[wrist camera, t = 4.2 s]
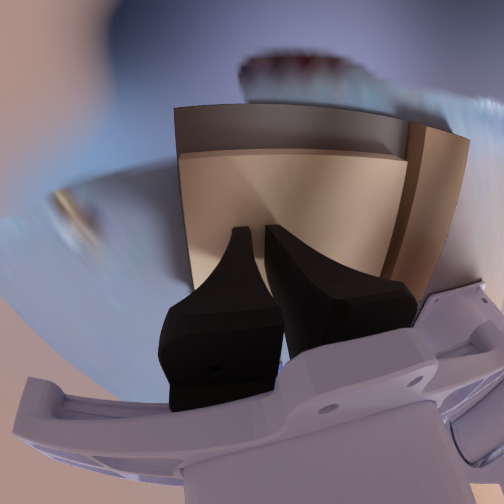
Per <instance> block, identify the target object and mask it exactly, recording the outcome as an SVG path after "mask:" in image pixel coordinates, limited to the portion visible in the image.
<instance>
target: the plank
mask: <svg viewBox="0 0 504 504" xmlns="http://www.w3.org/2000/svg"><path fill="white" fill-rule="evenodd" d="M407 163H408V162H407V161H405V160H403V159H401V158H399V157H397V156H395V155H388V154H379V153H369V152H357V151H343V150H324V149H239V150H220V151H205V152H193V153H182V154H181V155H180V158H179V170H180V181H181V191H182V200H183V209H184V218H185V226H186V234H187V241H188V248H189V255H190V262H191V269H192V275H193V282H194V288H195V290H196V289H197V288H198V287H199V286H200V285H201V284H202V283H203V282H204V281H205V280H206V279H207V278H208V276H209V275H210V274H211V273H212V272H213V270H214V269H215V267H216V266H217V264H218V263H219V261H220V260H221V258H222V256H223V254H224V252H225V250H226V248H227V246H228V243H229V241H230V238H231V234H232V229H233V228H234V227H241V226H248V227H249V228H250V230H251V235H252V243H253V252H254V258H255V261H256V264H257V266H258V269H259V272H260V274H261V276H262V279H263V281H264V283H265V285H266V287H267V288H268V290H269V292H270V294H271V295H272V293H271V290H270V287H269V284H268V281H267V276H266V271H265V266H264V249H265V225H276V224H279V225H281V226H282V227H284V228H285V229H286V230H288V231H289V232H290V233H292V234H293V235H294V236H296V237H297V238H298V239H300V240H301V241H303V242H304V243H305V244H307V245H308V246H310V247H311V248H313V249H315V250H316V251H318V252H319V253H321V254H323V255H325V256H326V257H328V258H330V259H332V260H334V261H336V262H338V263H340V264H343V265H345V266H347V267H350V268H352V269H355V270H358V271H360V272H363V273H366V274H370V275H373V276H376V277H380V274H381V271H382V267H383V264H384V261H385V258H386V254H387V251H388V247H389V244H390V240H391V237H392V233H393V229H394V225H395V221H396V217H397V213H398V209H399V204H400V200H401V195H402V190H403V185H404V180H405V175H406V169H407ZM272 297H273V296H272Z"/></svg>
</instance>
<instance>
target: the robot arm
mask: <svg viewBox="0 0 504 504" xmlns="http://www.w3.org/2000/svg"><path fill="white" fill-rule="evenodd" d="M264 266H265V271H266V276H267V281H268V284H269V287H270V290H271V293H272V295H271V294H270V292H269V290H268V288H267V287H266V285H265V283H264V281H263V279H262V276H261V274H260V272H259V269H258V266H257V264H256V261H255V258H254V252H253V243H252V235H251V230H250V228H249V227H248V226H241V227H234V228H233V229H232V234H231V238H230V241H229V243H228V246H227V248H226V250H225V252H224V254H223V256H222V258H221V260H220V261H219V263H218V264H217V266H216V267H215V269H214V270H213V272H212V273H211V274H210V275H209V276H208V278H207V279H206V280H205V281H204V282H203V283H202V284H201V285H200V286H199V287H198V288H197V289H196V290H195V291H194V292H193V293H191V294H190V295H189V296H187V297H186V298H185V299H183V300H182V301H180V302H178V303H177V304H175V305H174V306H172V307H170V309H169V311H168V313H167V315H166V318H165V321H164V324H163V327H162V330H161V334H160V340H159V348H158V358H159V362H160V365H161V367H162V369H163V371H164V373H165V376H166V378H167V380H168V382H169V384H170V392H169V403H139V402H124V401H111V400H101V399H94V398H86V397H79V396H73V395H67V394H65V393H64V392H63V391H62V389H61V388H60V387H59V386H57V385H56V384H55V383H53V382H51V381H48V380H43V379H38V378H33V377H28V379H27V382H26V385H25V388H24V391H23V394H22V397H21V400H20V404H19V407H18V411H17V414H16V418H15V422H14V426H13V431H12V433H13V435H14V436H16V437H17V438H19V439H20V440H22V441H23V442H25V443H26V444H28V445H29V446H31V447H32V448H34V449H35V450H37V451H39V452H40V453H42V454H44V455H45V456H47V457H49V458H51V459H52V460H55V461H58V462H62V463H65V464H68V465H71V466H74V467H78V468H81V469H85V470H89V471H92V472H96V473H100V474H105V475H108V476H113V477H117V478H123V479H127V480H133V481H139V482H145V483H151V484H159V485H168V486H179V487H184V493H185V504H476V501H475V498H474V495H473V492H472V490H471V487H470V484H469V483H476V484H493V483H494V484H500V486H501V489H502V492H503V494H504V315H503V314H502V313H501V311H500V310H499V309H498V308H497V306H496V305H495V304H494V303H493V302H492V301H491V299H490V298H489V297H488V296H487V295H486V294H485V293H484V292H483V289H484V287H485V285H486V283H485V282H484V281H482V282H479V283H475V284H472V285H468V286H464V287H461V288H457V289H453V290H449V291H445V292H441V293H437V294H433V295H431V296H430V297H429V298H428V299H427V301H426V303H425V305H424V307H423V309H422V311H421V313H420V315H419V317H418V319H417V321H416V323H415V325H414V326H413V328H410V326H411V324H412V322H413V320H414V318H415V315H416V312H417V305H418V304H417V301H416V298H415V297H414V296H413V294H412V293H411V292H410V290H409V289H408V288H407V287H406V285H405V284H404V283H403V282H398V281H394V280H389V279H384V278H380V277H376V276H373V275H370V274H366V273H363V272H360V271H358V270H355V269H352V268H350V267H347V266H345V265H343V264H340V263H338V262H336V261H334V260H332V259H330V258H328V257H326V256H325V255H323V254H321V253H319V252H318V251H316V250H315V249H313V248H311V247H310V246H308V245H307V244H305V243H304V242H303V241H301V240H300V239H298V238H297V237H296V236H294V235H293V234H292V233H290V232H289V231H288V230H286V229H285V228H284V227H282V226H281V225H279V224H276V225H265V249H264ZM272 296H273V297H272ZM284 333H285V337H286V342H287V347H288V351H289V356H290V361H288V362H287V363H286V364H285V365H284V367H283V368H282V370H281V371H280V373H279V375H278V370H279V363H280V356H281V349H282V342H283V334H284ZM276 377H277V381H276ZM275 381H276V387H275ZM274 388H275V390H274ZM446 418H448V419H447V420H446V423H445V424H444V422H443V420H445V419H446Z"/></svg>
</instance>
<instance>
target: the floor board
mask: <svg viewBox="0 0 504 504" xmlns="http://www.w3.org/2000/svg"><path fill="white" fill-rule="evenodd" d="M174 123H175V137H176V151H177V164H178V175H179V185H180V194H181V203H182V212H183V220H184V228H185V236H186V243H187V250H188V257H189V263H190V270H191V276H192V282H193V275H192V269H191V262H190V255H189V248H188V241H187V234H186V226H185V218H184V209H183V200H182V191H181V181H180V170H179V158H180V155H181V154H182V153H193V152H205V151H220V150H239V149H324V150H343V151H357V152H369V153H379V154H388V155H395V156H397V157H399V158H401V159H403V160H405V161H407V162H408V163H407V169H406V175H405V180H404V185H403V190H402V195H401V200H400V204H399V209H398V213H397V217H396V221H395V225H394V229H393V233H392V237H391V240H390V244H389V247H388V251H387V254H386V258H385V261H384V264H383V267H382V271H381V274H380V278H384V279H389V280H394V281H398V282H403V283H404V284H405V285H406V287H407V288H408V289H409V290H410V292H411V293H412V294H413V296H414V297H415V298H416V301H417V302H419V301H421V299H422V297H423V295H424V293H425V290H426V288H427V286H428V284H429V281H430V279H431V277H432V274H433V272H434V269H435V267H436V264H437V262H438V259H439V257H440V254H441V251H442V249H443V246H444V243H445V240H446V237H447V234H448V231H449V228H450V225H451V222H452V218H453V215H454V212H455V208H456V205H457V201H458V197H459V193H460V189H461V185H462V181H463V176H464V172H465V167H466V162H467V157H468V151H469V145H470V140H469V139H467V138H464V137H462V136H459V135H456V134H453V133H450V132H447V131H444V130H440V129H437V128H433V127H430V126H426V125H422V124H418V123H414V122H410V121H406V120H401V119H397V118H392V117H387V116H382V115H377V114H371V113H365V112H359V111H352V110H345V109H337V108H328V107H317V106H305V105H289V104H217V105H201V106H189V107H179V108H174ZM407 134H408V135H407ZM405 149H406V150H405ZM193 288H194V282H193ZM194 291H195V288H194Z"/></svg>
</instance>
